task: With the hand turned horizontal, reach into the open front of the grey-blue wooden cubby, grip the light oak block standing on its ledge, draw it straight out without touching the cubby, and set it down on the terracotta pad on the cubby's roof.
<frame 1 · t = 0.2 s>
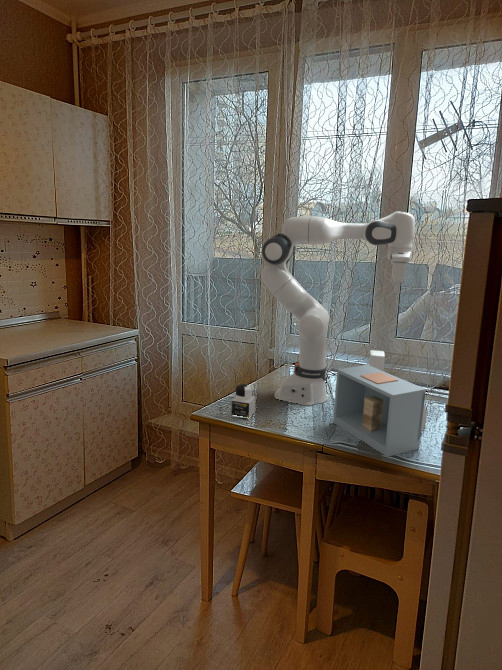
hand: (395, 291, 186), 48 cm above the table, tool pointing down, fingers open, 8 cm apart
medicine bottle: (243, 415, 184), on the table
tea bag: (417, 428, 177), on the table
cubby: (373, 435, 170), on the table
oak block: (371, 428, 168), point 3 cm above the table, touching cubby
skincare box: (374, 385, 222), on the table
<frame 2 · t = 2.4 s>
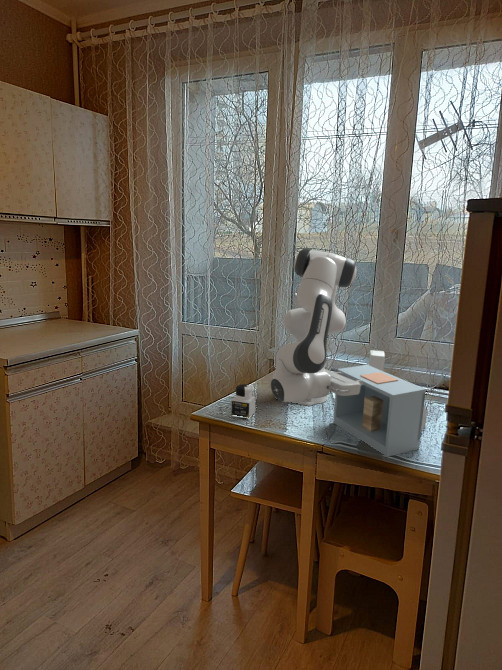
hand: (351, 378, 158), 23 cm above the table, tool horizontal, fingers open, 8 cm apart
nothing on the table moved.
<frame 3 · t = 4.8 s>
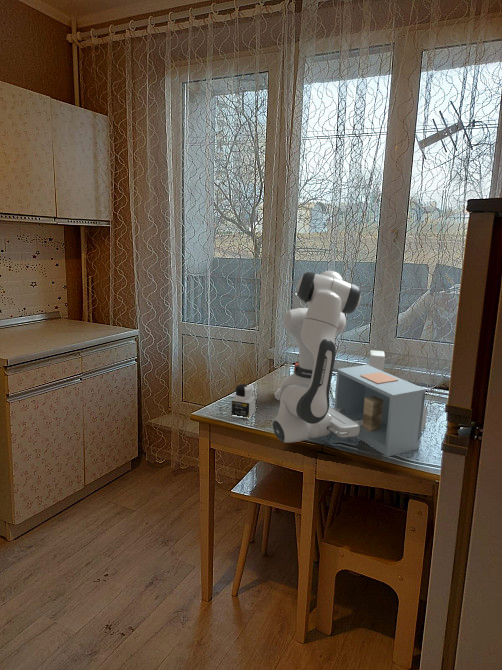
hand: (352, 416, 163), 9 cm above the table, tool horizontal, fingers open, 8 cm apart
nothing on the table moved.
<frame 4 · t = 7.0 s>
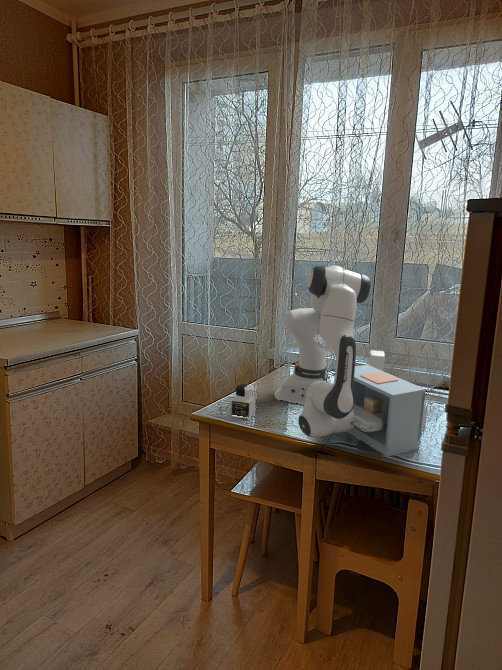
hand: (374, 411, 167), 9 cm above the table, tool horizontal, fingers closed on oak block, 4 cm apart
oak block: (371, 428, 168), point 3 cm above the table, touching cubby, gripper
everything else where it was.
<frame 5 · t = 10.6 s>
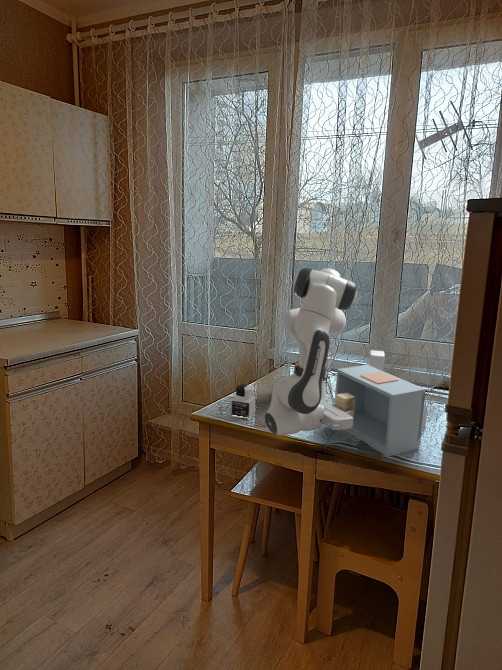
hand: (346, 409, 161), 12 cm above the table, tool horizontal, fingers closed on oak block, 4 cm apart
oak block: (343, 426, 162), point 6 cm above the table, touching gripper
everything else where it was.
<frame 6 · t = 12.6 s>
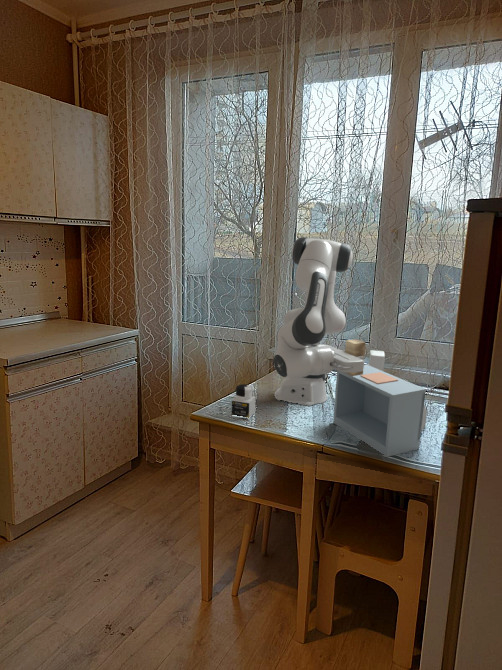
hand: (356, 355, 158), 31 cm above the table, tool horizontal, fingers closed on oak block, 4 cm apart
oak block: (353, 373, 159), point 24 cm above the table, touching gripper
everything else where it was.
when the fingers open (29 cm above the table, at t = 14.4 s): oak block drops 1 cm, resting on cubby.
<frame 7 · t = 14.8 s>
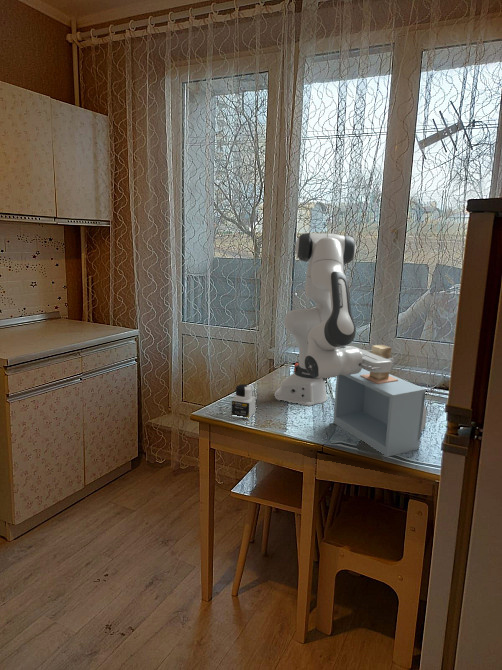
hand: (382, 356, 163), 29 cm above the table, tool horizontal, fingers open, 8 cm apart
oak block: (378, 377, 165), point 22 cm above the table, touching cubby
everything else where it was.
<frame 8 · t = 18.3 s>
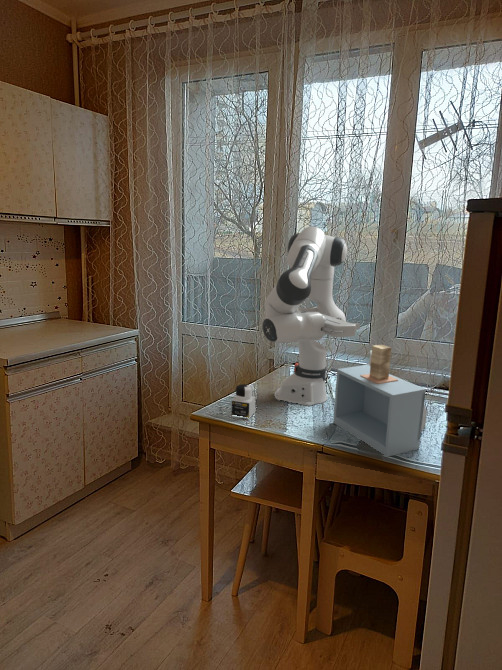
hand: (348, 322, 153), 42 cm above the table, tool horizontal, fingers open, 8 cm apart
nothing on the table moved.
at the end: oak block inside the target area on the cubby (0.0 cm from its centre), point 21.6 cm above the cubby's base; oak block tilted 0°; the gripper is holding nothing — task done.
